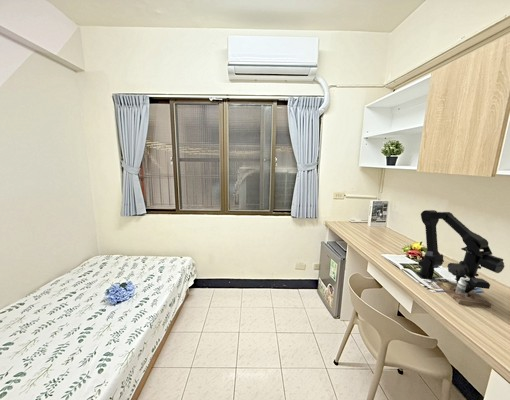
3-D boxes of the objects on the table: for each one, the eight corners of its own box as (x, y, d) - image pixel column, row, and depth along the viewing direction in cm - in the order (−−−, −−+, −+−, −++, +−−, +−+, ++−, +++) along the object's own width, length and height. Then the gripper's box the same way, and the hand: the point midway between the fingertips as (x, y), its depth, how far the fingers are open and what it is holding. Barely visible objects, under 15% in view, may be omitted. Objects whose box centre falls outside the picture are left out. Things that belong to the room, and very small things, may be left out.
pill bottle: (461, 291, 115) (465, 276, 113) (469, 297, 110) (474, 282, 108) (452, 290, 115) (456, 276, 113) (460, 296, 110) (465, 282, 108)
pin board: (436, 284, 122) (437, 280, 121) (463, 287, 120) (465, 284, 120) (458, 303, 106) (459, 299, 106) (490, 307, 105) (491, 303, 104)
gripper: (440, 251, 118) (433, 277, 122) (468, 270, 100) (459, 299, 104) (463, 253, 117) (455, 279, 121) (495, 273, 99) (485, 302, 102)
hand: (462, 289), depth 112 cm, fingers closed on pill bottle, 5 cm apart
